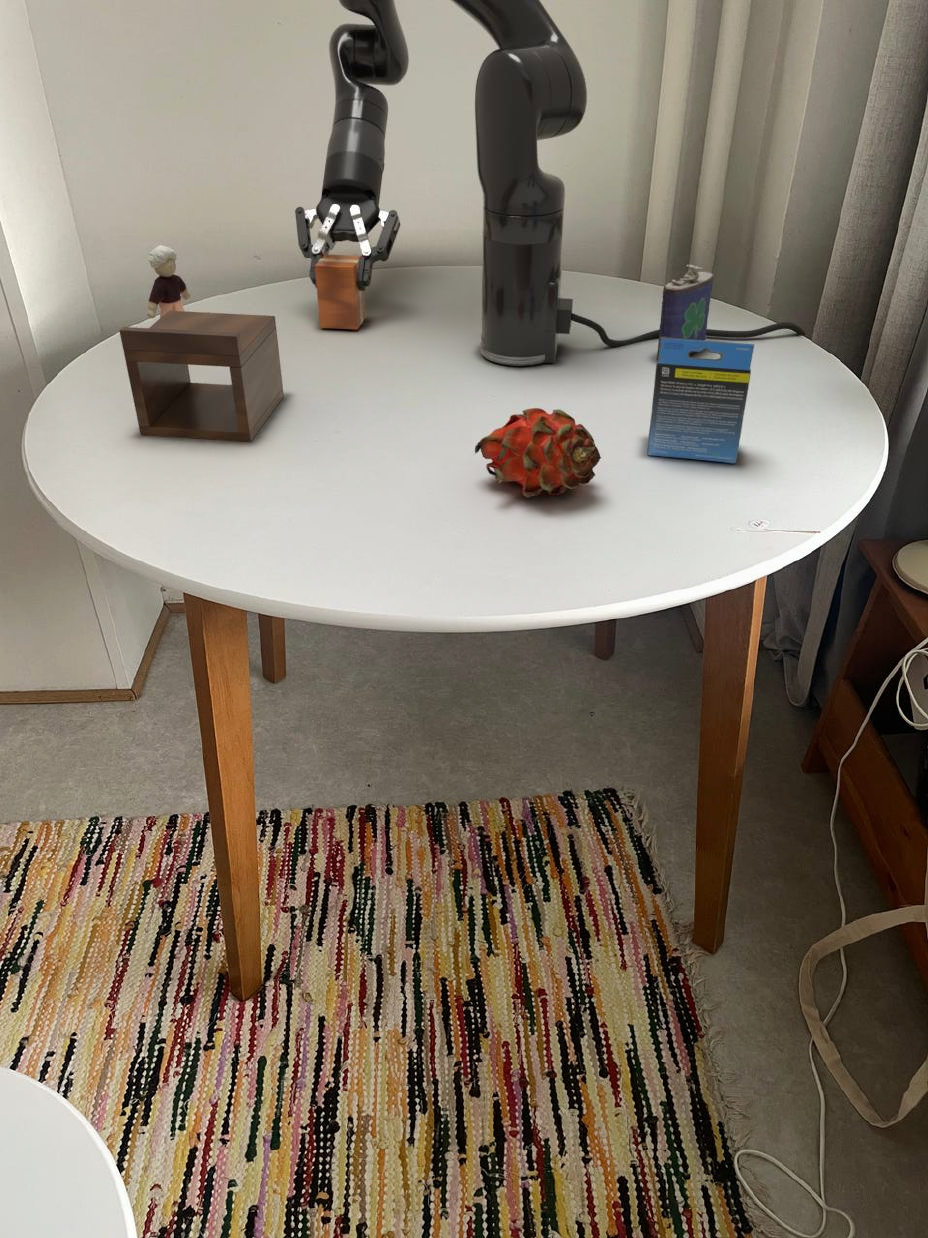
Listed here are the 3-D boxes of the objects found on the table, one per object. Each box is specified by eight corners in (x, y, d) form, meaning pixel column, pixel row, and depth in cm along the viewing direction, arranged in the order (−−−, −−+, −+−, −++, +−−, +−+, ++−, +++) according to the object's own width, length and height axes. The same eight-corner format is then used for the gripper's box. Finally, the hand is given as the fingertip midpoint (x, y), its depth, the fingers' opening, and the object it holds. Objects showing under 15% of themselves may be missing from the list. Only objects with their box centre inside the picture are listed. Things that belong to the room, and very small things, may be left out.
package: (366, 316, 134) (362, 255, 129) (357, 329, 130) (353, 266, 125) (329, 315, 134) (324, 253, 129) (319, 327, 130) (314, 265, 125)
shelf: (283, 396, 113) (273, 296, 106) (250, 442, 103) (236, 336, 97) (182, 390, 114) (165, 291, 108) (140, 434, 105) (118, 329, 98)
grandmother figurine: (180, 362, 121) (162, 255, 114) (151, 360, 122) (131, 253, 114) (206, 340, 127) (190, 237, 120) (178, 338, 128) (160, 235, 120)
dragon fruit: (603, 518, 94) (483, 514, 98) (615, 438, 96) (497, 437, 100) (586, 475, 86) (456, 472, 90) (599, 389, 89) (472, 391, 93)
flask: (691, 340, 127) (703, 254, 121) (711, 345, 126) (724, 259, 120) (650, 360, 122) (661, 271, 116) (671, 366, 120) (682, 276, 114)
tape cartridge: (736, 448, 102) (756, 330, 95) (735, 465, 99) (757, 344, 92) (648, 439, 104) (662, 322, 96) (645, 456, 101) (659, 336, 93)
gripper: (293, 147, 128) (276, 269, 125) (403, 149, 126) (388, 274, 124) (308, 181, 135) (292, 298, 133) (412, 185, 134) (398, 303, 131)
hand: (339, 286), depth 128 cm, fingers closed on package, 5 cm apart
